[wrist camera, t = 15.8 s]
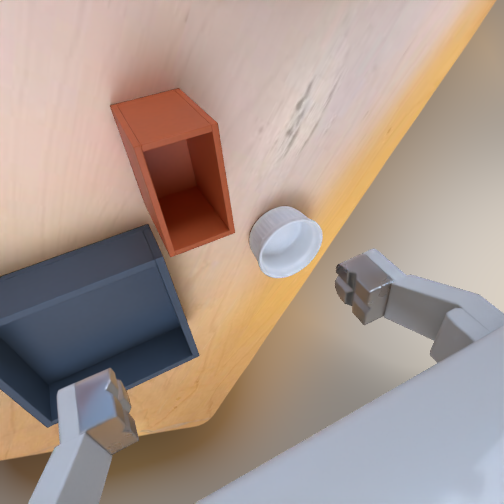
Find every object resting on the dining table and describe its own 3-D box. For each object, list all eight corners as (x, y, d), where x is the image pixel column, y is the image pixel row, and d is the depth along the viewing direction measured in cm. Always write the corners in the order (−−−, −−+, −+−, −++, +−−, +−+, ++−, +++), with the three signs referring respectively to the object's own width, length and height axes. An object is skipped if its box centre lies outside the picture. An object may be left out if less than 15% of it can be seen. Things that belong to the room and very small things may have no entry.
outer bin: (148, 223, 38) (163, 256, 34) (185, 323, 50) (199, 355, 46) (-50, 294, 33) (-59, 341, 29) (44, 385, 45) (47, 428, 41)
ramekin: (274, 266, 51) (290, 286, 48) (230, 246, 45) (245, 267, 42) (315, 217, 49) (334, 235, 46) (275, 189, 43) (294, 207, 40)
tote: (178, 87, 31) (217, 123, 25) (200, 186, 38) (235, 233, 32) (109, 105, 30) (133, 147, 24) (144, 204, 37) (170, 257, 30)
